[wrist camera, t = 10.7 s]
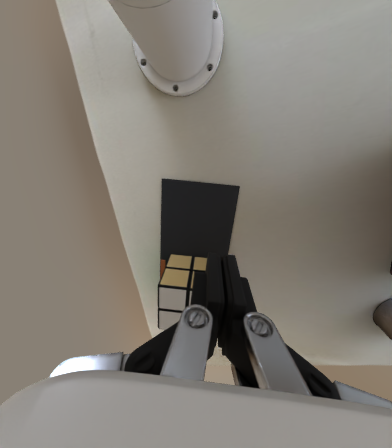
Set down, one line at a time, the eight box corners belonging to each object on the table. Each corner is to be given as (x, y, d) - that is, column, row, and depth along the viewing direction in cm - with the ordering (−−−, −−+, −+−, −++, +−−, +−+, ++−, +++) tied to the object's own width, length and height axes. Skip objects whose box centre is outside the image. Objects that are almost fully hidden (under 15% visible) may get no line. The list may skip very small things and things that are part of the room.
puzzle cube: (212, 295, 41) (212, 336, 32) (168, 290, 42) (157, 330, 33) (217, 258, 38) (219, 292, 28) (169, 253, 38) (157, 285, 29)
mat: (162, 178, 33) (161, 179, 32) (239, 186, 32) (239, 186, 32) (160, 297, 43) (159, 299, 43) (218, 304, 43) (218, 306, 42)
